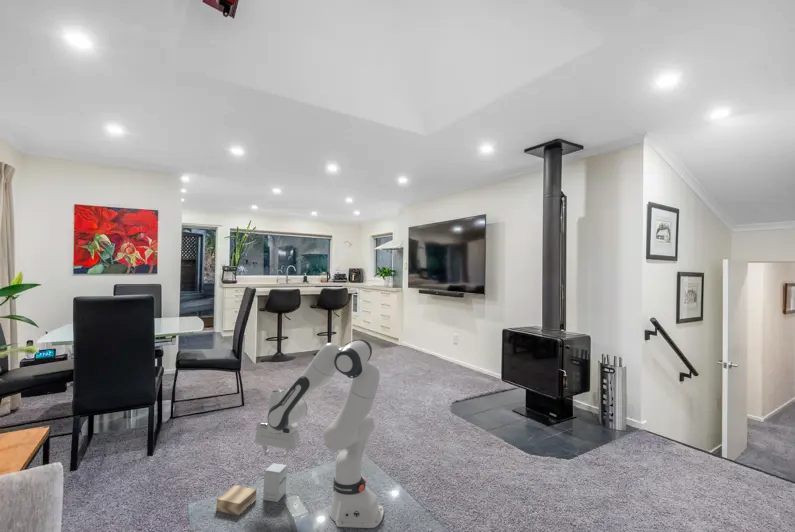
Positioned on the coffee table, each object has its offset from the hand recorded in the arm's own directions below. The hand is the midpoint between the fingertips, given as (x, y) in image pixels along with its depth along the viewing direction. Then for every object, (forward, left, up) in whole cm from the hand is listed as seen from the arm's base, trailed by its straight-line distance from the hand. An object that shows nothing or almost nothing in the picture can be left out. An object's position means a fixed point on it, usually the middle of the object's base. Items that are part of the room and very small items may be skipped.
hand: (275, 456), depth 164 cm
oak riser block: (+12, +10, -18) cm, 24 cm away
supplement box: (0, 0, -18) cm, 18 cm away
